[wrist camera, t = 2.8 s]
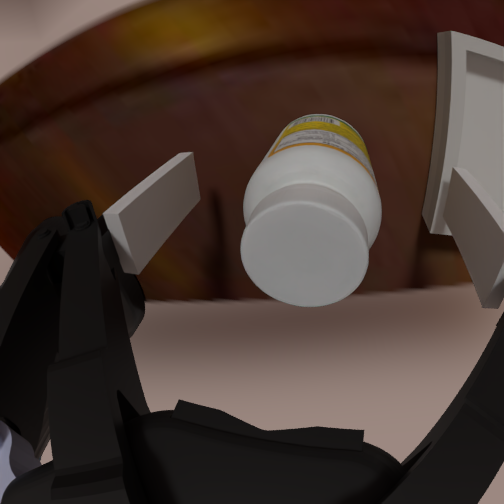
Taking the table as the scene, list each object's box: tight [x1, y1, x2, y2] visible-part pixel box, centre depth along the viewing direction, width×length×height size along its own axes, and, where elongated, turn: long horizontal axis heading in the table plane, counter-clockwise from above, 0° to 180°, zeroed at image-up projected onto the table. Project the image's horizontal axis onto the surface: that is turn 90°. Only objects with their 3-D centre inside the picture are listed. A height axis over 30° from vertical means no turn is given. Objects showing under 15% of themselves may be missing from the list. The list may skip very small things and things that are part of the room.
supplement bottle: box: [241, 114, 382, 307], centre depth 13 cm, size 5×5×10 cm
